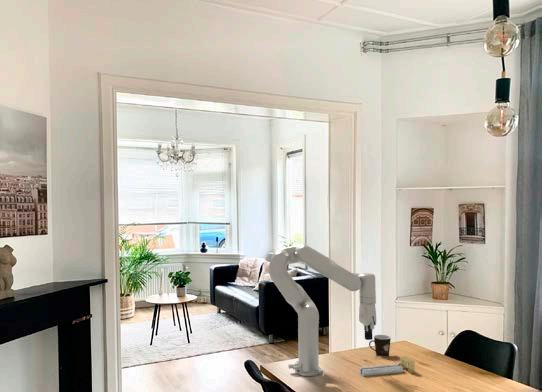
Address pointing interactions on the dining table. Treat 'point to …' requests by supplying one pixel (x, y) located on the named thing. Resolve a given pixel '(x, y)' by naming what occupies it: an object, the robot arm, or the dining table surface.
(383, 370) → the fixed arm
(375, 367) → the grey rod
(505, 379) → the dining table surface
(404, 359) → the beige textured block
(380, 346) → the coffee mug
